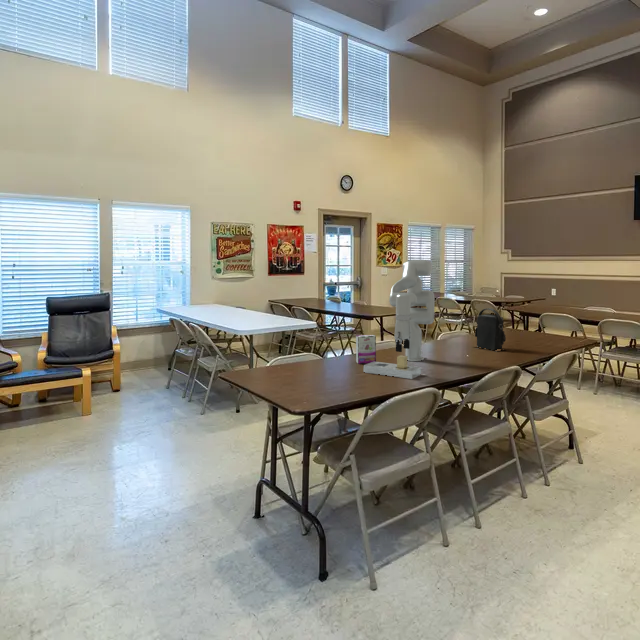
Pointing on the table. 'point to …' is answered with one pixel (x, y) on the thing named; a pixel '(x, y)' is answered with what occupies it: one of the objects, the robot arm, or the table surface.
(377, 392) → the table surface
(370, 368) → the white holder tray
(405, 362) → the peg
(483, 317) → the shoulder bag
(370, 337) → the candy bar box
